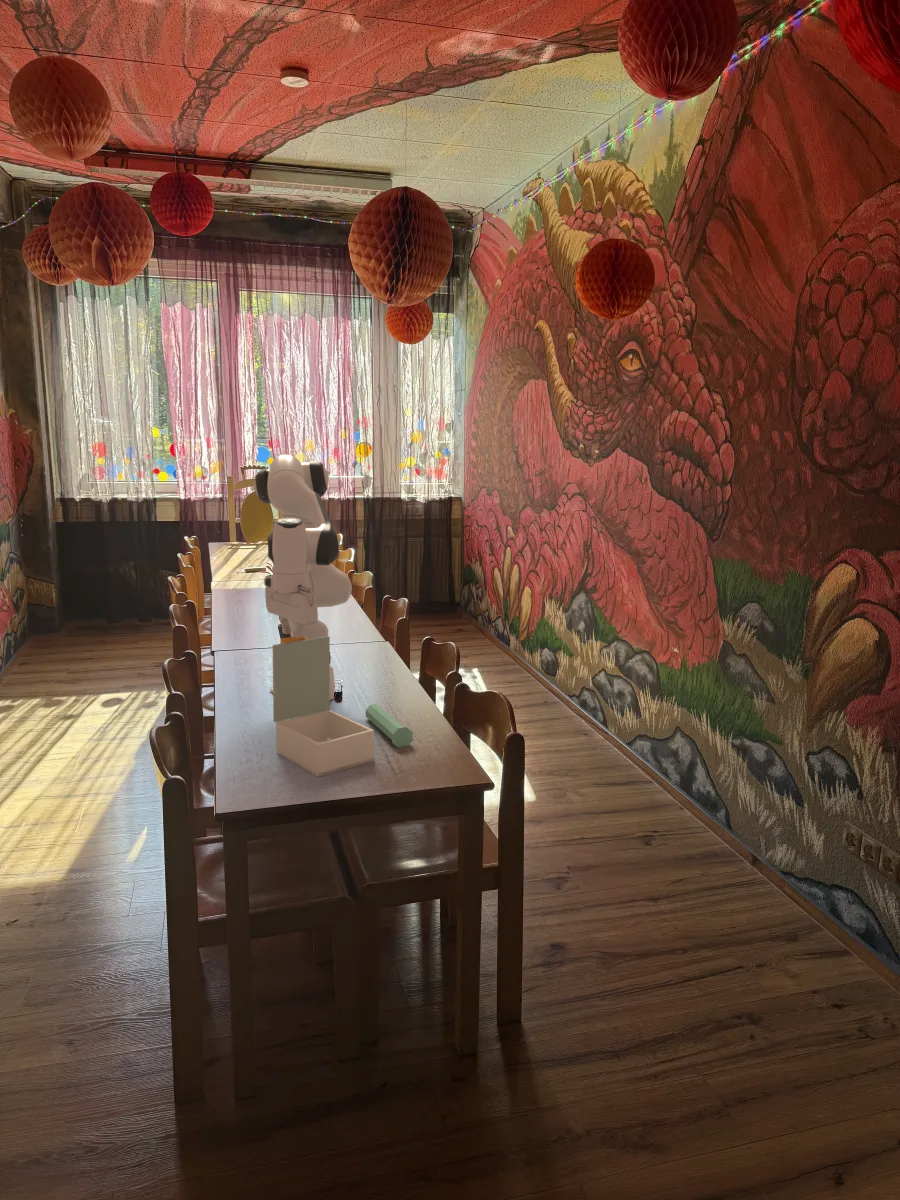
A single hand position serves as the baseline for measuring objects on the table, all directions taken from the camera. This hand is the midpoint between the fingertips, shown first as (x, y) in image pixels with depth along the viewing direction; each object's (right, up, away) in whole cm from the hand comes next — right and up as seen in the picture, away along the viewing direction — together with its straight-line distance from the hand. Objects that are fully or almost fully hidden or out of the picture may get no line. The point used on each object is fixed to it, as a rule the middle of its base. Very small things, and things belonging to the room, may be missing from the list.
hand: (292, 635), depth 222 cm
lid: (+3, -11, -1) cm, 12 cm away
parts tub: (+9, -30, -5) cm, 32 cm away
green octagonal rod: (+23, -27, +13) cm, 38 cm away
